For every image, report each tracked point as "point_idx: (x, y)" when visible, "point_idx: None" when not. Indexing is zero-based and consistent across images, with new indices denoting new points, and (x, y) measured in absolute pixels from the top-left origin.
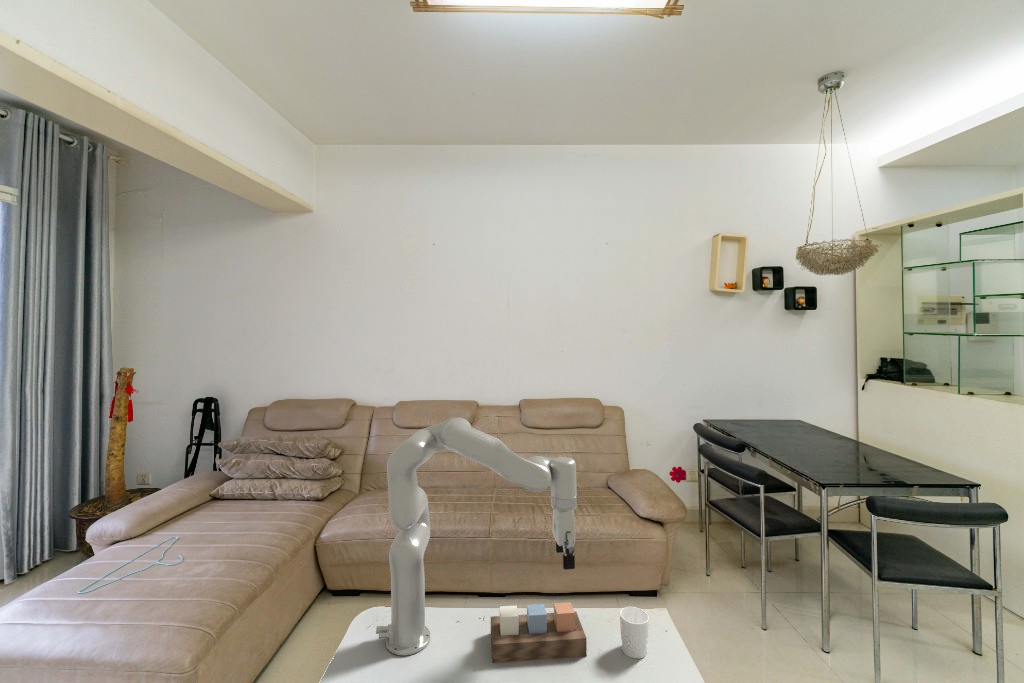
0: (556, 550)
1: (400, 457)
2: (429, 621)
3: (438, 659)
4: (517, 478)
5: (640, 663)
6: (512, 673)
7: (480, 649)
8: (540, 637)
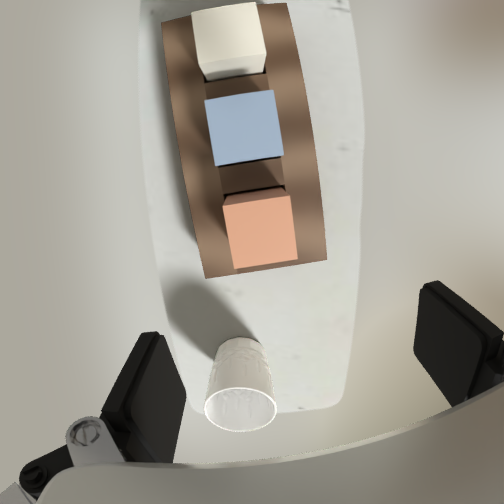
0: (433, 288)
1: None
2: None
3: None
4: None
5: (204, 359)
6: (141, 87)
7: None
8: (195, 145)
